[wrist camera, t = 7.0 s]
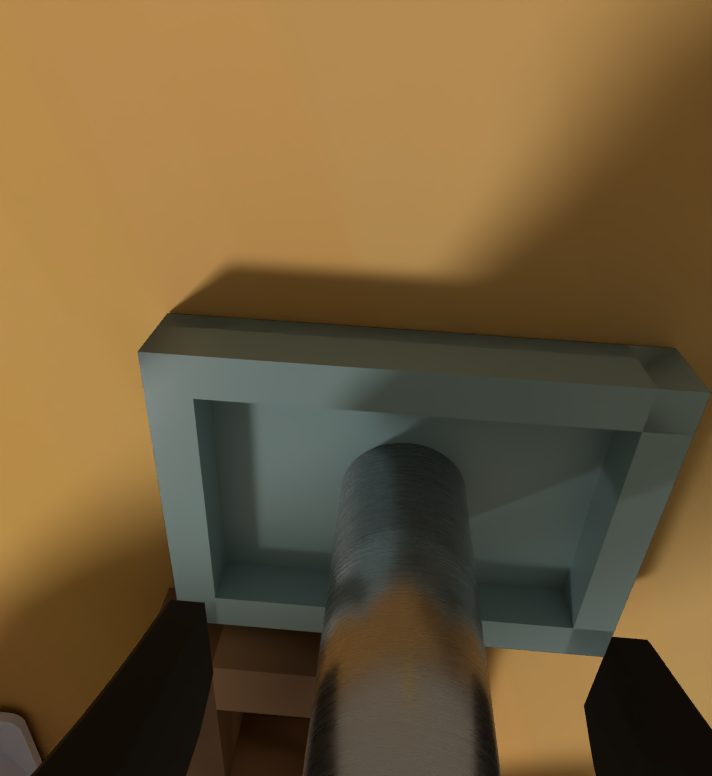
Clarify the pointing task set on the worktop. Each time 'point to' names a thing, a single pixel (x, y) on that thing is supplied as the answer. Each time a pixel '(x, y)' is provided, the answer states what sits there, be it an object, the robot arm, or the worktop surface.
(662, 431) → the tray
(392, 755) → the pin
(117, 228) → the worktop surface
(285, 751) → the holder
